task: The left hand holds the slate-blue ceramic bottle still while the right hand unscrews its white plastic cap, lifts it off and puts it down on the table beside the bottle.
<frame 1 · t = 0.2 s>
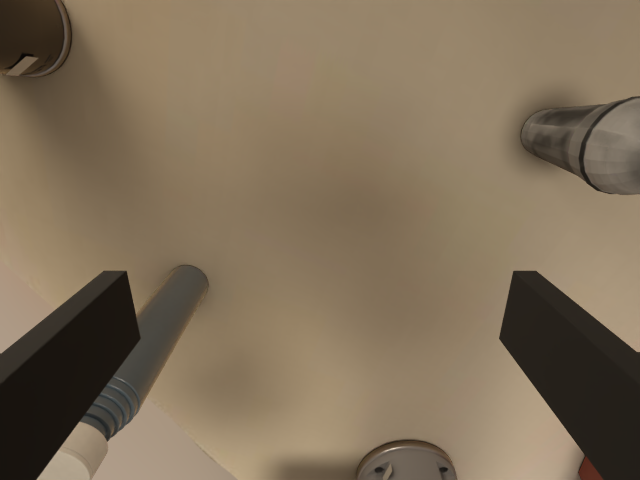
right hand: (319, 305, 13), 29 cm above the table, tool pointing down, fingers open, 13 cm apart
cap: (59, 468, 23), point 24 cm above the table, screwed on, not yet turned
bucket: (633, 453, 56), on the table
grey cocktail shaker: (541, 132, 39), on the table
bottle: (188, 282, 45), on the table
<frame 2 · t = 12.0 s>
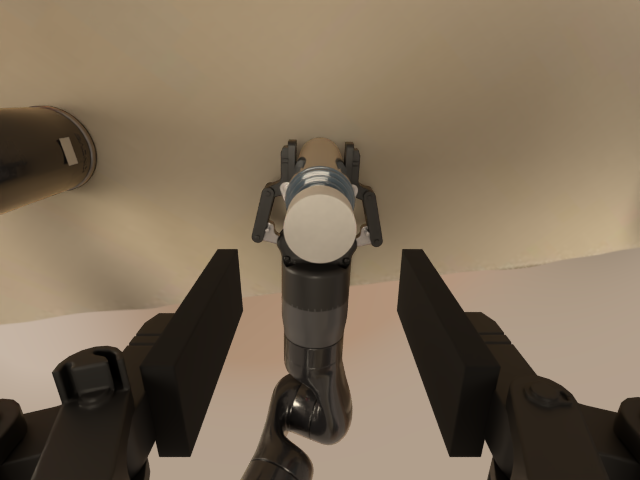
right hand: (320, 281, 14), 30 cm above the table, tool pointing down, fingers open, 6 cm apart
left hand: (320, 142, 35), fingers closed on bottle, 5 cm apart
cap: (320, 228, 20), point 24 cm above the table, screwed on, not yet turned
bottle: (319, 158, 43), on the table, touching left hand
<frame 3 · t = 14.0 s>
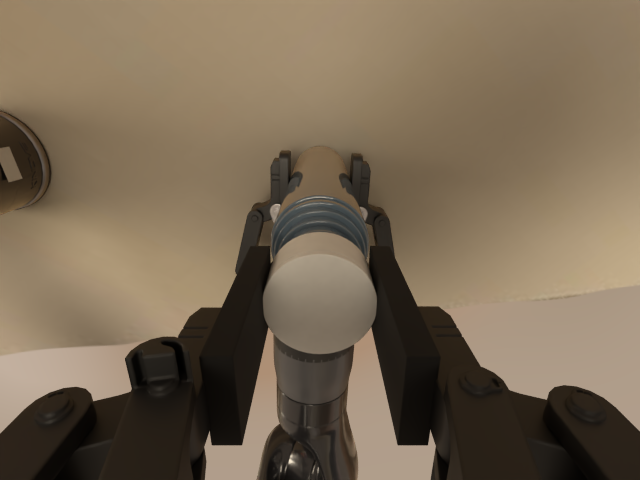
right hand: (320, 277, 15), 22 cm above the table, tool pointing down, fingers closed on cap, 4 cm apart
cap: (319, 302, 13), point 24 cm above the table, screwed on, not yet turned, touching right hand
bottle: (319, 171, 35), on the table, touching left hand
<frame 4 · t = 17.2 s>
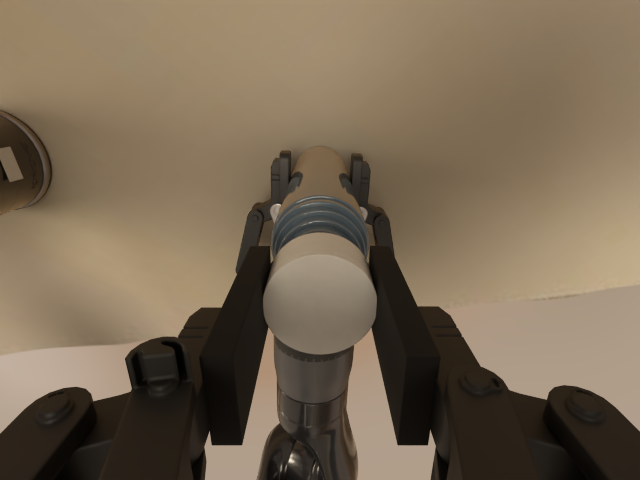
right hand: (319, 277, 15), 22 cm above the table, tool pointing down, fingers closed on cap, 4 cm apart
cap: (320, 303, 13), point 24 cm above the table, turned 115° so far, risen 0.1 cm, still on its thread, touching right hand
bottle: (320, 171, 35), on the table, touching left hand
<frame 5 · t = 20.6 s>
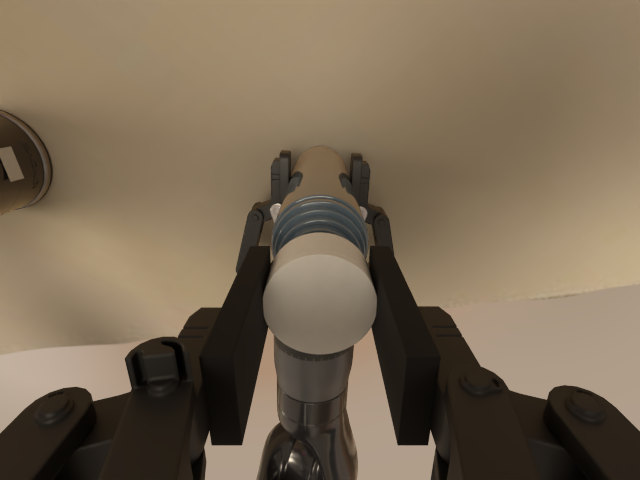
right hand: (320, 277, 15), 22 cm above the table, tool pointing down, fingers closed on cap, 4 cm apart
cap: (319, 303, 13), point 24 cm above the table, turned 230° so far, risen 0.2 cm, still on its thread, touching right hand
bottle: (319, 171, 36), on the table, touching left hand
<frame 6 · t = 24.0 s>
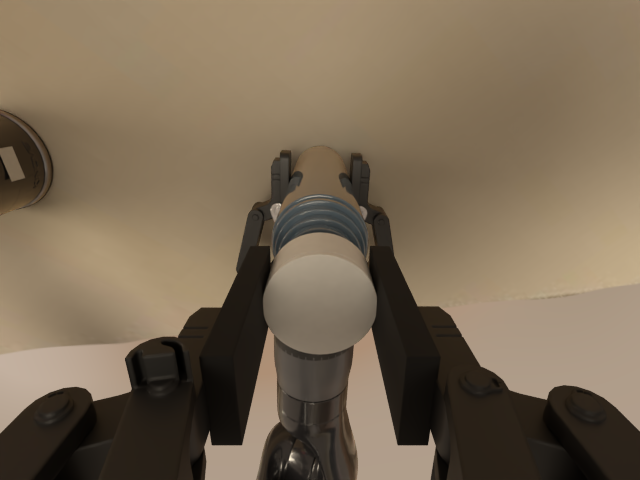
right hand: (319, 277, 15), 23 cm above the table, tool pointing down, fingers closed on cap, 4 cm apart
cap: (319, 303, 13), point 24 cm above the table, turned 344° so far, risen 0.3 cm, still on its thread, touching right hand
bottle: (319, 171, 36), on the table, touching left hand
when the right hand's fingers open (1 cm above the table, at t = 30.7 s): cap drops 1 cm, point 2 cm above the table.
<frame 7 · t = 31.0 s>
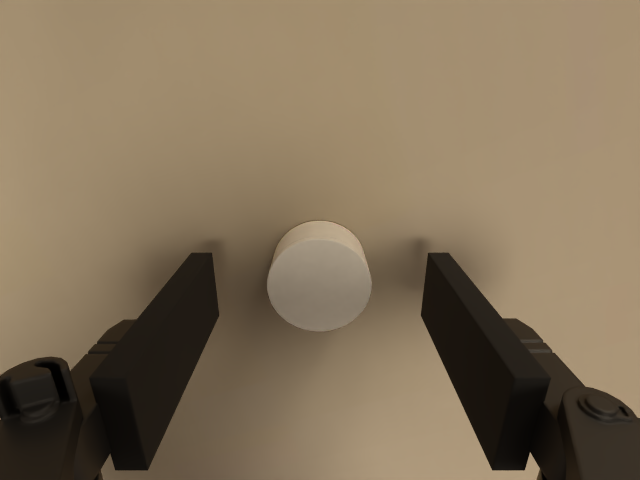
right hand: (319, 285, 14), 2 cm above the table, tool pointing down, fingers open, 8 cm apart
cap: (319, 284, 14), point 2 cm above the table, off its thread
when the left hand's fingers open (7 cm above the table, at t = 32.0 s): bottle stays where it is, on the table.
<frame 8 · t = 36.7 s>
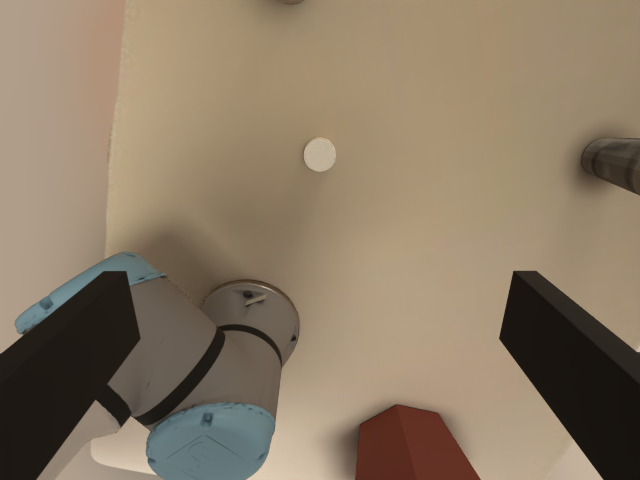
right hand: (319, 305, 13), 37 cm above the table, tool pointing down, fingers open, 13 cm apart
cap: (319, 155, 45), point 2 cm above the table, off its thread
bucket: (403, 438, 65), on the table
grey cocktail shaker: (598, 156, 47), on the table
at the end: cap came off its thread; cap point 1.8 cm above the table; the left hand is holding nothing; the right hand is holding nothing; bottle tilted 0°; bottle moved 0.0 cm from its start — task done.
